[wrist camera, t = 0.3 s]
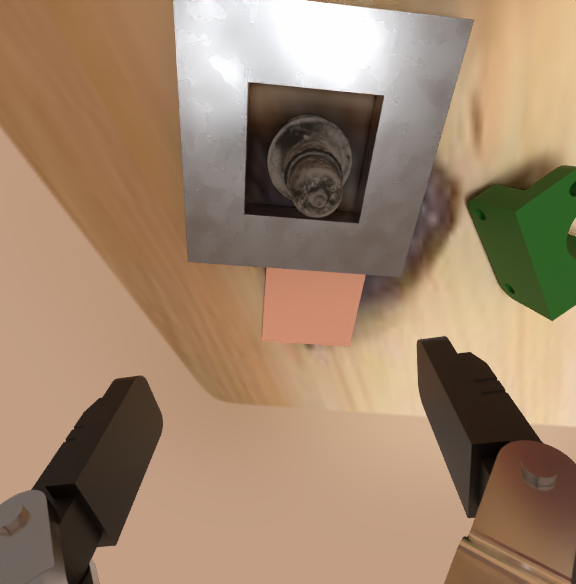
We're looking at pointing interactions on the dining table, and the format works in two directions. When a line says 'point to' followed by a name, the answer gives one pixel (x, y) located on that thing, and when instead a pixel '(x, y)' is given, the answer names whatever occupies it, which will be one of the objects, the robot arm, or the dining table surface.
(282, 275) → the tile
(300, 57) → the grey square frame
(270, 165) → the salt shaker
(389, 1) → the dining table surface
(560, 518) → the robot arm
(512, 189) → the clamp
